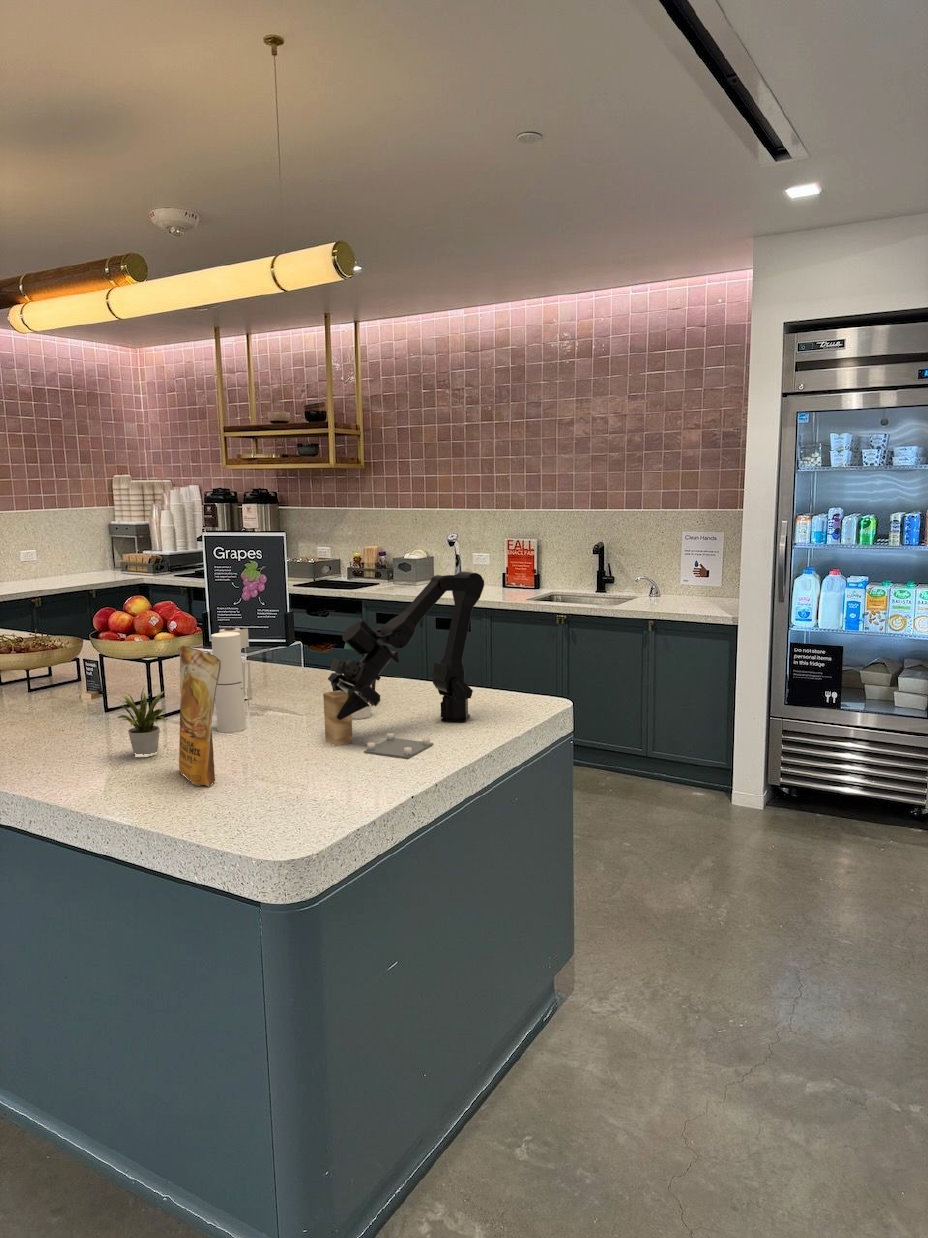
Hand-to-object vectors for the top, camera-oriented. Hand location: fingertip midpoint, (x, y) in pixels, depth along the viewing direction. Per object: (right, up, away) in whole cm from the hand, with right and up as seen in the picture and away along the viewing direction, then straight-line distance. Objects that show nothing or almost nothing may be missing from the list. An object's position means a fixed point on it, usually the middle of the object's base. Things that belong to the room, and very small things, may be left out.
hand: (332, 716), depth 220 cm
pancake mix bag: (-25, -11, -23) cm, 36 cm away
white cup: (+3, -3, +26) cm, 26 cm away
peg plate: (+17, -7, -6) cm, 19 cm away
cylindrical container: (-29, -5, +15) cm, 33 cm away
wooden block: (+1, -6, +2) cm, 7 cm away
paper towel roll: (-35, -1, +46) cm, 58 cm away
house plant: (-44, -9, -7) cm, 46 cm away
